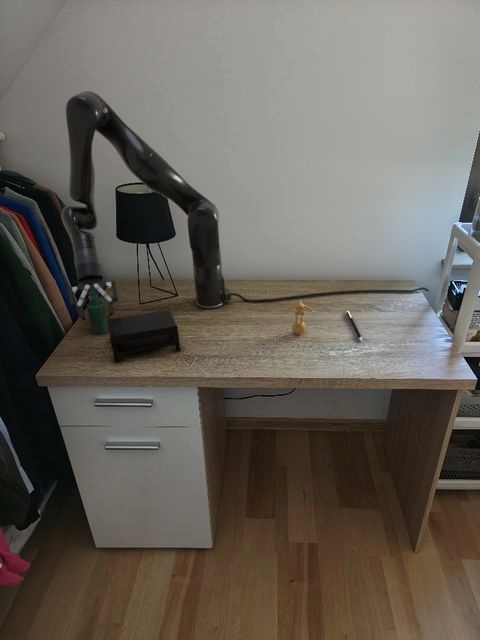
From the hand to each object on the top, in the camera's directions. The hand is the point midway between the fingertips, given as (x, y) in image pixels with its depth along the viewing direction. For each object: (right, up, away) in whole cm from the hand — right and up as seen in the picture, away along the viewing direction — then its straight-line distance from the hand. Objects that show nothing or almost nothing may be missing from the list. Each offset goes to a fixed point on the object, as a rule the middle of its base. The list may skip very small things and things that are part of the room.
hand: (97, 317), depth 143 cm
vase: (0, -4, +4) cm, 6 cm away
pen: (+77, -2, +4) cm, 77 cm away
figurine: (+60, -5, 0) cm, 60 cm away
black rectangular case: (+15, -8, -4) cm, 18 cm away
